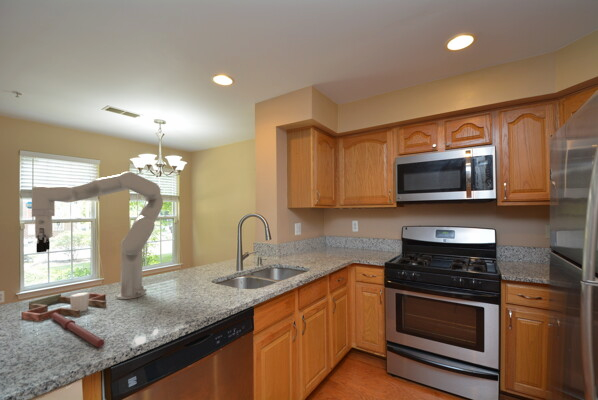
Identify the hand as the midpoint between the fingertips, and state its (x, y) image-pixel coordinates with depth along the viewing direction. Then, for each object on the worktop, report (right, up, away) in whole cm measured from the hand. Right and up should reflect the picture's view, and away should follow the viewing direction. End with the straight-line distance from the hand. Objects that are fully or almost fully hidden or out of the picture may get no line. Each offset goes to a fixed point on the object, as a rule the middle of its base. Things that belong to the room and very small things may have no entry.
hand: (43, 251), depth 120 cm
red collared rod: (+34, -26, -23) cm, 48 cm away
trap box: (+10, -26, +1) cm, 28 cm away
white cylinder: (+18, -26, -1) cm, 32 cm away
